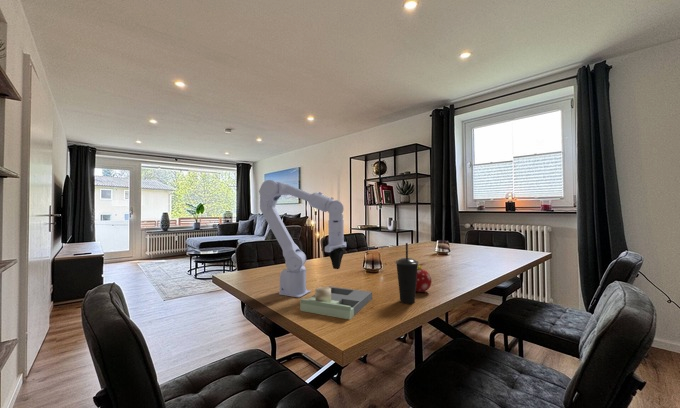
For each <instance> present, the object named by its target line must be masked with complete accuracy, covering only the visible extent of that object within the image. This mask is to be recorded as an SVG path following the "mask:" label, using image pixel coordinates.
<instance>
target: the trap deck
mask: <svg viewBox="0 0 680 408" xmlns="http://www.w3.org/2000/svg"><path fill="white" fill-rule="evenodd" d="M328 287H329V288H331V303H329V302H322V301H316V299H315V294H314V295H312V296H310V297H309V298H300V301H299V302H300V303H299V304H300V309H299V311H301V312H306V313H310V314H311V313H312V314H317V315H323V316H327V317H332V318H333V317H334V318H340V319H345V320H351V319H352V318H354V317H355V316H356V315H357V314H358V313H359V312H360V311H361V310H362V309H363V308H364V307H365V306H367V304H368V303H369V302H370V301H371V300H372V299H373V291H371V290H370V291H368V290H362V289H355V288H354V289H353V288H346V287H336V286H330V285H329V286H328Z"/></svg>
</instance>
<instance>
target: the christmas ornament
mask: <svg viewBox="0 0 680 408" xmlns="http://www.w3.org/2000/svg"><path fill="white" fill-rule="evenodd" d="M431 286H432V277H431V275H430V273H429V272H428V271H426V270H425V269H422V266H421V265H419V264H418V266H417V280H416V292H417V293H424V292H426V291H428V290H429V289H430V288H431Z"/></svg>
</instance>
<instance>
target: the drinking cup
mask: <svg viewBox="0 0 680 408" xmlns="http://www.w3.org/2000/svg"><path fill="white" fill-rule="evenodd" d="M408 251H409V243H408V242H405V257H402V258H399V259H397V260H396V261H395V264H396V271H397V272H396V273H397V281H398V290H399V291H398V293H399V300H400V303H402V304H408V305H412V304H415V303H416V292H417V291H416V280H417V269H418V267H419V266H418V265H419V261H417V260H416V259H414V258H411V257H409V252H408Z"/></svg>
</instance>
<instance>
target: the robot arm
mask: <svg viewBox="0 0 680 408" xmlns="http://www.w3.org/2000/svg"><path fill="white" fill-rule="evenodd" d="M258 192H259V209H260V212H261V214H262V216H263V217H264V218H265V220H266V222H267V224H268V227H269V228H270V230H271V231H272V233H273V235H274V237H275V239H276V241H277V242H278V245H279V246H280V248H281V250H282V255H283V258H284V262H285V267H286V268H284V269H282V271H281V272H280V275H279V292H278V295H280V296H288V297H291V298H292V297H294V298H301V297H304V296H305V295H308V294H309V293H311V289H307V274H306V273H307V268H306V267H305V264H306V263H307V262H306V261H307V255H306V254H305V252H303V251H302V250H301V249H300V248H299V246H298V245H297V244H296V243H295V242H294V240H293V238H292V236H291V234H290V233H289V231H288V229H287V228H286V224H285V223H284V222H283V220H282V218H281V216H280V214H279V213H278V211H277V209H276V205H277V203H278V200H279V199H280V198H281V197H282V196H289V195H290V196H292V197H295V198H297V199H300V200H303V201H305V202H307V203H308V204H309V206H310V207H312V208H313V209H317V210H319V211H321V212H323V213H326V212H327V213H328V224H327V225H328V244H327V245H326V246H324V252H325V253H327V254H328V256H329V258H330V261H331V266H332V268H333V269H334V270H340V268H341V266H342V265H341V264H342V259H343V258H344V257H343V256H344V254H345V253H346V249H345V248H347V241H344V238H345V237H344V235H345V234H344V233H345V230H344V229H345V228H344V225H345V224H344V214H343V212H344V205H343V203H342V202H341V201H339V200H336V199H335V200H334V197H328V196H326V195H324V194H323V192H321V191H318V192H317V191H315V192H312V193H309V192H307V191H305V190H303V189H300V188H298V187H295V186H293V185H291V184H287V183H284V182H280V181H275V180H273V179H267V180H265V181H263V182H262V184H261V185H260V187H259V190H258ZM333 269H332V270H333Z"/></svg>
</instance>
